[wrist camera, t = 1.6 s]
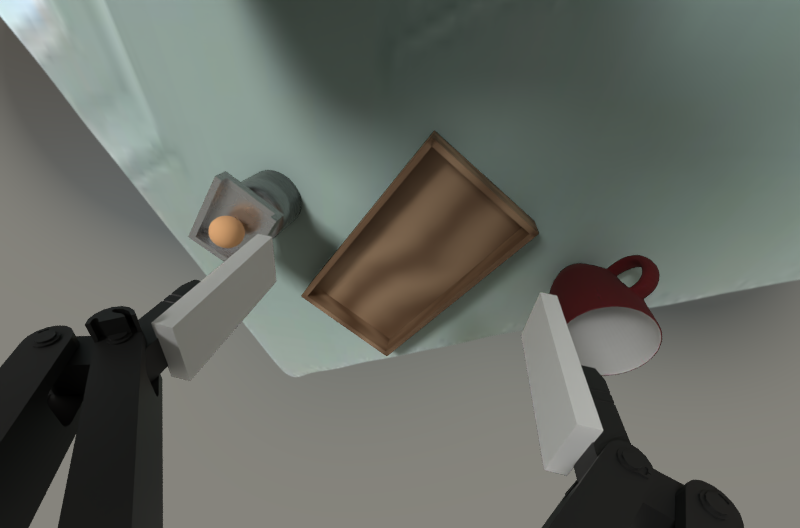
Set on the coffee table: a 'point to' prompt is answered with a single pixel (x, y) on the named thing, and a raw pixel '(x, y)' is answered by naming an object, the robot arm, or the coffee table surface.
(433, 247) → the tray
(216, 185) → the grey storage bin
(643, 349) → the mug
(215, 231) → the ball
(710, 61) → the coffee table surface
